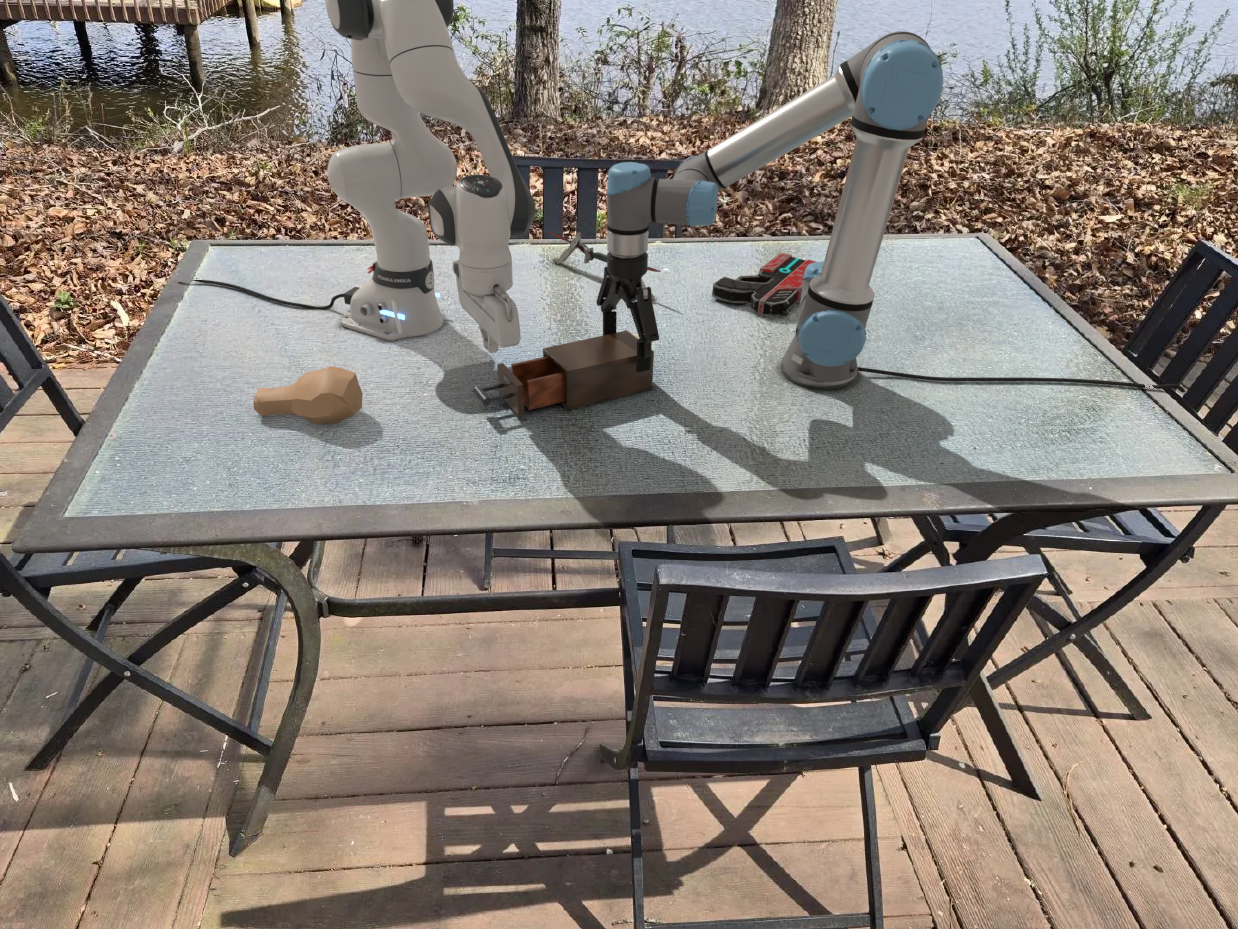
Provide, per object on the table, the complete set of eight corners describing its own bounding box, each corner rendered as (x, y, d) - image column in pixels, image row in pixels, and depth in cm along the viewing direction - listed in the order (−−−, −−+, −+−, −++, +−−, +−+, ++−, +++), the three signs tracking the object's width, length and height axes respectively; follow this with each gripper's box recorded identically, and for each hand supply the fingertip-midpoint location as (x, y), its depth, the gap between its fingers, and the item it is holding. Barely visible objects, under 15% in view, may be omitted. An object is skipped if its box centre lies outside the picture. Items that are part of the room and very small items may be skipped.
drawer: (488, 424, 159) (486, 392, 155) (469, 400, 166) (467, 370, 162) (602, 395, 169) (602, 365, 165) (580, 374, 176) (580, 345, 172)
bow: (662, 300, 209) (664, 260, 204) (657, 302, 208) (659, 262, 203) (550, 258, 231) (549, 220, 225) (545, 259, 230) (544, 222, 224)
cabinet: (567, 410, 166) (566, 371, 161) (543, 386, 173) (542, 348, 169) (652, 389, 173) (654, 351, 169) (626, 366, 181) (627, 330, 176)
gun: (708, 284, 207) (784, 305, 199) (760, 245, 229) (831, 262, 221) (706, 302, 209) (781, 323, 201) (758, 261, 231) (828, 278, 223)
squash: (362, 431, 158) (346, 392, 151) (255, 439, 159) (235, 401, 153) (374, 393, 165) (360, 354, 159) (272, 401, 167) (254, 364, 161)
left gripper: (528, 294, 143) (530, 369, 151) (482, 254, 158) (486, 324, 165) (492, 301, 140) (496, 377, 148) (448, 259, 155) (454, 330, 163)
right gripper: (681, 270, 153) (675, 378, 165) (613, 228, 171) (612, 328, 183) (644, 277, 150) (641, 387, 162) (578, 234, 168) (580, 335, 180)
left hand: (491, 349), depth 157 cm, fingers closed
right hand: (626, 356), depth 172 cm, fingers open, 13 cm apart
